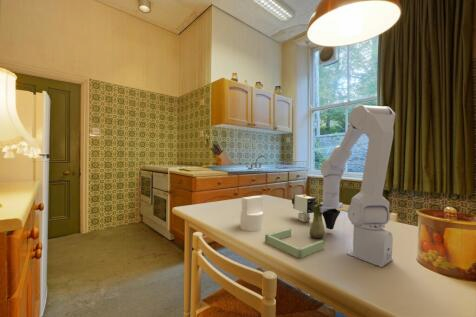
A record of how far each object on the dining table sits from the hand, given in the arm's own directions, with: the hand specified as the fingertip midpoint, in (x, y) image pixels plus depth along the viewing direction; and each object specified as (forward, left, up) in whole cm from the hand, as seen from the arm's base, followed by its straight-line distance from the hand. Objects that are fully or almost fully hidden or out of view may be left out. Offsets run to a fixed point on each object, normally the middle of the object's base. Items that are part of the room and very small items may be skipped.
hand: (329, 228), depth 84 cm
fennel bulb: (0, +8, -2) cm, 8 cm away
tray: (0, +21, -2) cm, 21 cm away
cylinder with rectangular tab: (+21, +21, -2) cm, 30 cm away
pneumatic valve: (+15, -5, -2) cm, 16 cm away
